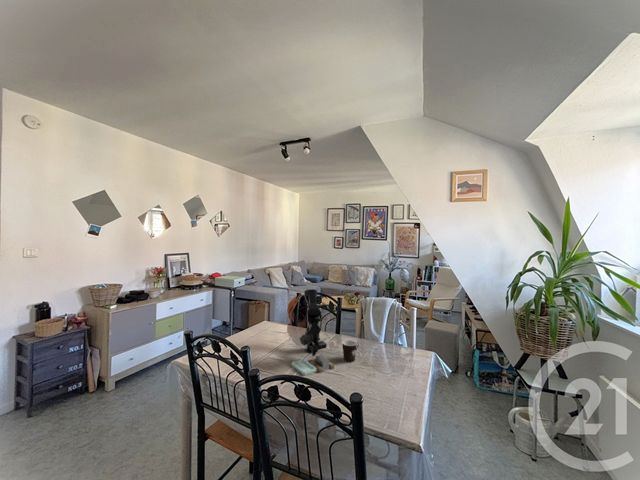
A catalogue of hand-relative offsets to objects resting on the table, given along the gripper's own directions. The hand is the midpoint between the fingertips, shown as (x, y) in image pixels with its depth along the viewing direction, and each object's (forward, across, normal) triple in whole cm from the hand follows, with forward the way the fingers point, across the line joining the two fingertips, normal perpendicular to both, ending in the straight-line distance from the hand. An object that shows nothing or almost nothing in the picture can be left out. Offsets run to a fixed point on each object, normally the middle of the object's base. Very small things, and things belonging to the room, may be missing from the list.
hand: (313, 355), depth 163 cm
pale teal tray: (+3, +5, -10) cm, 11 cm away
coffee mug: (+3, +11, +20) cm, 23 cm away
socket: (+3, +8, 0) cm, 8 cm away
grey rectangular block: (+3, +9, 0) cm, 9 cm away
